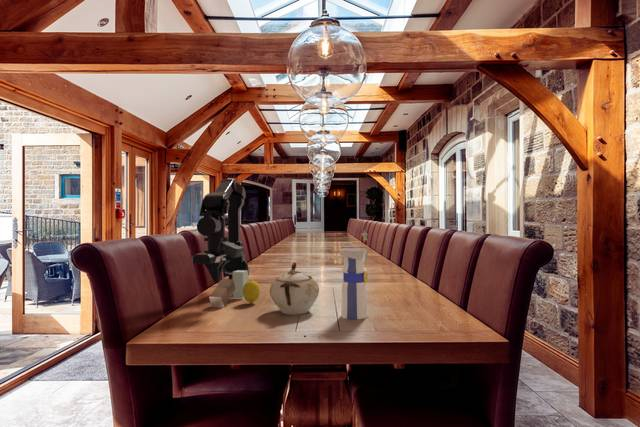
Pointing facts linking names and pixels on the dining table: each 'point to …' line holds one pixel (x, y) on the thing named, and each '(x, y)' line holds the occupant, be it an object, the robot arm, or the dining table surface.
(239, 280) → the sage block
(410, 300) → the dining table surface
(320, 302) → the dining table surface
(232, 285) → the beige rectangular block
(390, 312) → the dining table surface
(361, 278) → the white blue cross vase
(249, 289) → the lemon
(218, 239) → the robot arm
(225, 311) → the dining table surface
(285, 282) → the sugar bowl
